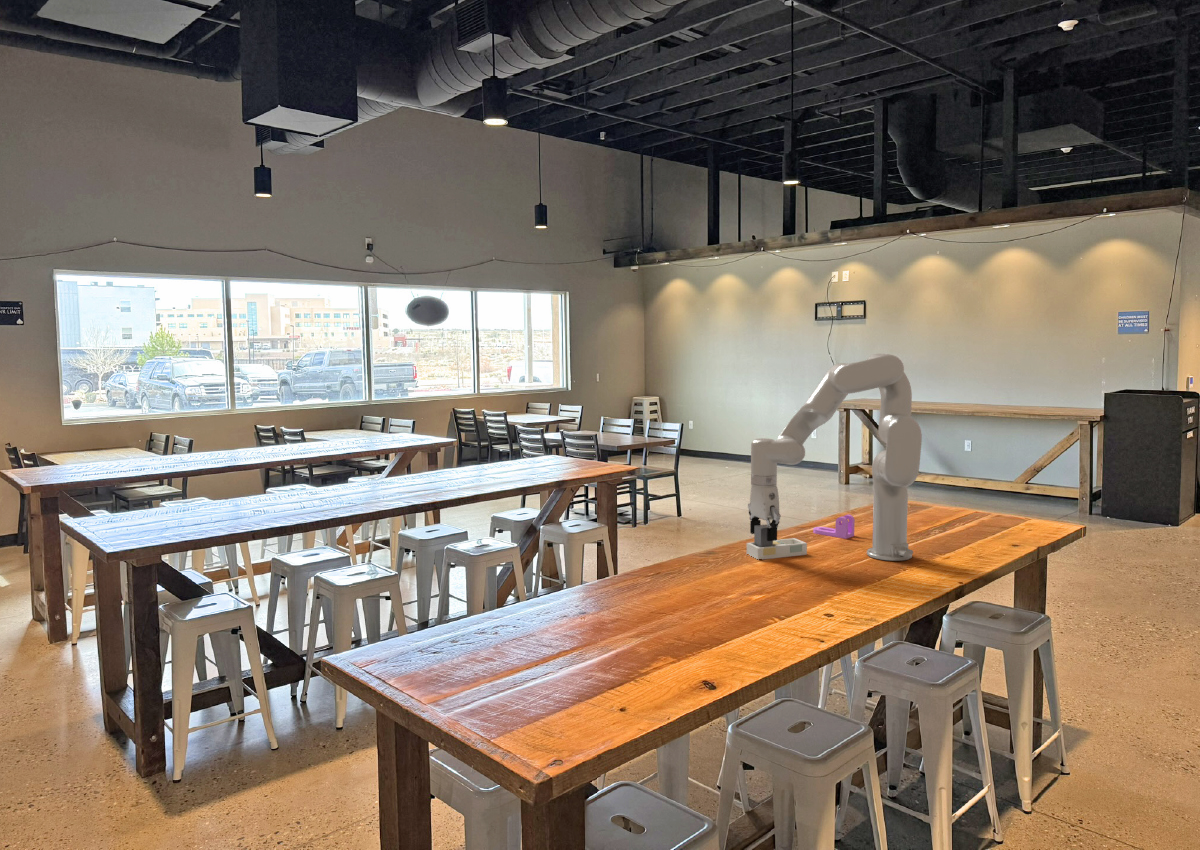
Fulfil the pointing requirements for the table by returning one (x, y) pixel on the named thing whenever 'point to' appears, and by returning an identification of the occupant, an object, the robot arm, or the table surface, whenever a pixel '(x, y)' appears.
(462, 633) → the table surface
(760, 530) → the plug
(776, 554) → the socket block
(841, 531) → the bracket
